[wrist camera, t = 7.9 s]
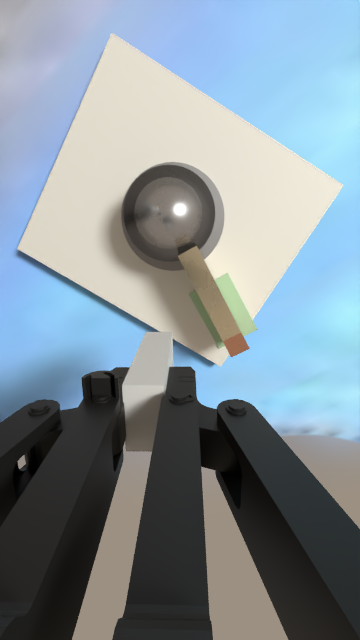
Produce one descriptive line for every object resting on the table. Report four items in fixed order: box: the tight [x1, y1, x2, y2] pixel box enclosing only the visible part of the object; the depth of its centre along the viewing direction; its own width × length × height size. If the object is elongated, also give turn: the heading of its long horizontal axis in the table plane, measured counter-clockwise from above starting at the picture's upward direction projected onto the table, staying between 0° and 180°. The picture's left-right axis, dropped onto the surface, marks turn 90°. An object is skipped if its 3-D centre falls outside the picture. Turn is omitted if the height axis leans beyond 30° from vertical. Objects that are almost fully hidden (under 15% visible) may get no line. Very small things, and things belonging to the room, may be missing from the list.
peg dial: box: [123, 165, 249, 357], centre depth 25 cm, size 16×7×4 cm, turn 28°
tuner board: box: [18, 33, 344, 367], centre depth 28 cm, size 23×19×1 cm
